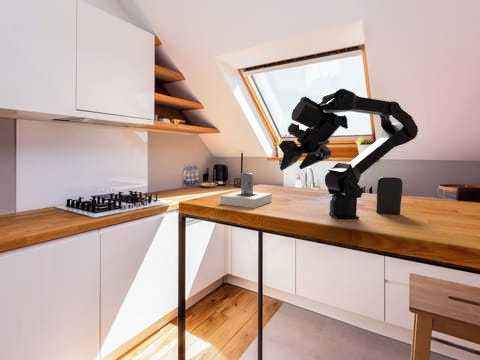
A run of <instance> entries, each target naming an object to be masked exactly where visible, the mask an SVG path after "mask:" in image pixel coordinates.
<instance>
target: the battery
mask: <svg viewBox="0 0 480 360" xmlns="http://www.w3.org/2000/svg"><path fill="white" fill-rule="evenodd" d="M403 184H404V183H403V179H402V178H401V177H397V176H380V177H379V178H378V179H377V181H376V203H375V204H376V205H375V206H376V207H375V208H376V209H375V212H376V213H378V214H389V215H400V214H401V207H402V206H401V205H402V199H403V189H404V188H403V187H404V185H403Z"/></svg>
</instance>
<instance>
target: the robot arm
mask: <svg viewBox="0 0 480 360" xmlns="http://www.w3.org/2000/svg"><path fill="white" fill-rule="evenodd" d="M346 112H355V113H361V114H367V115H374V116H375V115H376V116H378V117H379V119H380V127H381V128H382V131H381V135H380V138H379V139H377V140H376V141H374V143H371V145H369V147H367V148H366V149H365V150H363V151H362V152H361V153H360V154H359V155H357V156H356V157H355V158H354V159H352V160H351V161H349V162H348V163H346V162H337V163H336V164H335V165H334V166H333V167H332V168H329V169H327V171H328V172H327V173H326V174H325V176H324V184H325V186H326V188H327V191H328V194H329V195H331V199H330V200H329V213H328V214H329V215H330V216H332V217H333V218H335V219H339V220H340V219H345V220H346V219H359V218H360V216H358V215H357V209H358V208H357V206H358V199H360V198H361V199H362V196H363V193H364V190H363V188H362V187H361V186H360V185H359V183H360V179H361V177H362V176H361V175H362V174H364V173H365V172H366V171H367V170H369V169H370V168H371V167H372V166H374V165H375V164H376V163H377V162H378V161H379V160H380V159H382V158H383V157H384V156H386V155H387V154H388V153H389V152H391V151H392V150H393V149H394V148H396V147H399V146H401V145H405V144H408V143H410V142H411V141H412V140H414V139H416V138H417V136H418V132H419V128H418V125H417V123H416V122H415V120H414V118H413V117H412V115H410V114H409V113H408V112H406V111H405V110H404V109H403V108H402V107H401V105H400V104H399V103H398V102H397V101H393V100H391V101H389V100H383V99H376V98H371V97H370V98H369V97H363V96H359V95H357V94H356V93H355V92H354V91H351V90H349V89H345V88H339V89H336V90H333V91H330V92H326V93H325V94H324V95H323V97H322V99H321V100H320V101H318V102H316V101H314V100H312V99H311V98H309V97H308V96H305V95H304V96H303V97H301V98H300V100H299V102H297V104H296V105H295V107H294V108H293V109H292V113H291V121H294V122H291V123H290V124H289V125H288V126H287V133H288V134H289V135H290V136H293V137H295V138H297V139H296V141H297V143H299V146H298V144H297V143H296V142H295V140H284V139H283V140H281V142H280V143H279V145H278V148H279V149H280V150H281V152H282V153H283V154H282V155H283V156H282V160H281V163H280V166H279V169H280V171H285V170H287V168H290V167H291V166H293V165H294V164H296V163H297V162H298V160H300V159H301V158H302V156H303V155H306V156H305V157H304V158H303V160H302V162H301V163H300V165H299V166H298V167H299V169H300V170H304V169H306V168H308V167H310V166H312V165H315V164H317V163H321V162H323V161H325V160H329V158H330V157H331V156H332V151H331V149H330V147H328V145H329V144H330V138H331V137H332V136H333V135H334V134H335V133H336V131H337V130H339V129H340V127H341V128H343V129H346V130H347V129H348V128H349V126H348V117H347V116H346V115H339V114H337V113H346ZM391 116H392V118H393V119H395V120H396V121H397V122H396V121H395V122H392V121H391V119H390V117H391Z"/></svg>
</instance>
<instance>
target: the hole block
mask: <svg viewBox="0 0 480 360" xmlns="http://www.w3.org/2000/svg"><path fill="white" fill-rule="evenodd" d="M272 196H273V193H268V192H267V193H266V192H255V191H253V196H251V197H247V196H241V190H239V191H238V190H237V191H235V192H231V193H226V194H223V195H222V194H221V195H220V198H219V199H220V200H219V201H220V202H219V203H220V205H226V206H234V207H242V208H251V209H256V208H258V207H261V206H263V205H266V204H269V203H271V202H272V201H273V197H272Z"/></svg>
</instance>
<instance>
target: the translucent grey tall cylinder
mask: <svg viewBox="0 0 480 360" xmlns="http://www.w3.org/2000/svg"><path fill="white" fill-rule="evenodd" d="M240 175H241V176H240V181H241V183H240V191H241V196H247V197H251V196H253V192H254V172H241V173H240Z"/></svg>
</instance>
